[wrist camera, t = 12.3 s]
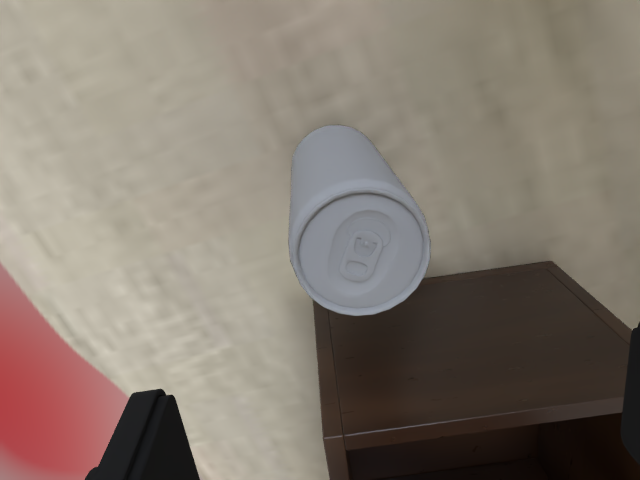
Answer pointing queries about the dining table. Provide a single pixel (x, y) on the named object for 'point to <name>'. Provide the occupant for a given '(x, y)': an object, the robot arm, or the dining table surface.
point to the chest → (477, 382)
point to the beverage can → (353, 225)
